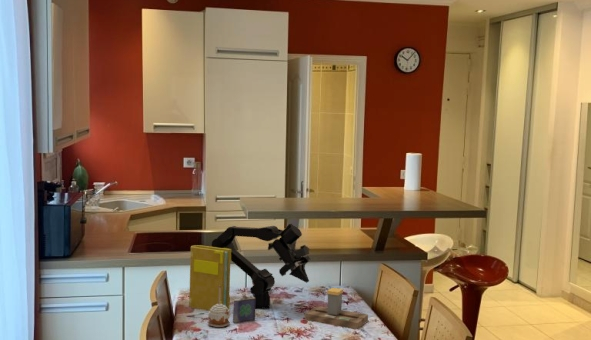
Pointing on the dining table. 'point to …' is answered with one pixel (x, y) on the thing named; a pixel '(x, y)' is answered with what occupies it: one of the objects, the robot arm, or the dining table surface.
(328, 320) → the wooden slotted board
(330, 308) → the switch handle
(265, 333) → the dining table surface
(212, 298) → the book
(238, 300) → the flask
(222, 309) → the candy apple
